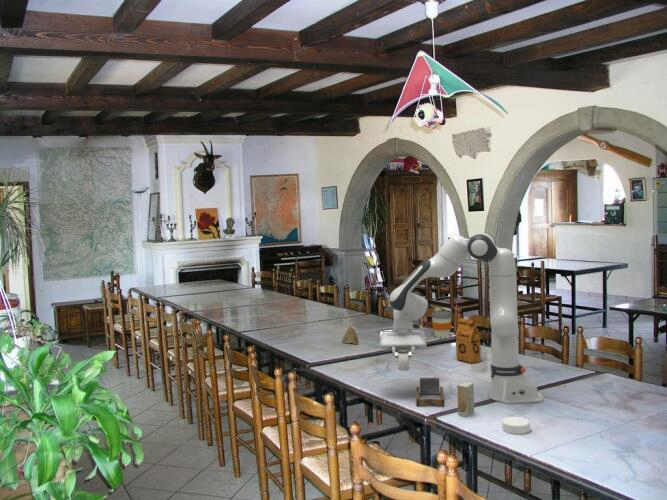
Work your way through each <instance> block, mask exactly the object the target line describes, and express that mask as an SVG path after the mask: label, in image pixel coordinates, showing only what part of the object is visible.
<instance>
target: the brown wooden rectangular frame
mask: <svg viewBox="0 0 667 500" xmlns="http://www.w3.org/2000/svg"><path fill="white" fill-rule="evenodd" d="M439 392H440V394H439V396H440V398H420V395H421V394H420V386H416V394H415V396H416V397H415V399H416V400H415V402H416V403H415V404H416V407H426V406H429V407H430V406H434V407H436V406H438V407H443V408H444V407H445V395H444V387H443V386H439Z"/></svg>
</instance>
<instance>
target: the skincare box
mask: <svg viewBox="0 0 667 500" xmlns="http://www.w3.org/2000/svg"><path fill="white" fill-rule="evenodd" d="M474 387H475V385H474V382H470V381H469V382H468V381H462V382H460V383H458V384H457V387H456V388H457V393H456V394H457V415H458V416H462V417H469V416H471V415H472V414H474V413H475V391H474Z"/></svg>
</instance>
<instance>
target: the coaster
mask: <svg viewBox="0 0 667 500" xmlns="http://www.w3.org/2000/svg"><path fill="white" fill-rule="evenodd" d="M501 423H502V424H501V425H502V427H501V428H502V430H503V431H504V432H505V433H507V434H510V435H512V434H513V435H524V434H528V433H529V432H531V422H530V421H529V419H527V418H524V417H520V416H509V417H508V416H507V417H505V418H503V419H502V421H501Z"/></svg>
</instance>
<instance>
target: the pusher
mask: <svg viewBox="0 0 667 500" xmlns="http://www.w3.org/2000/svg"><path fill="white" fill-rule="evenodd" d="M419 391H420V395H440V377H419Z"/></svg>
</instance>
